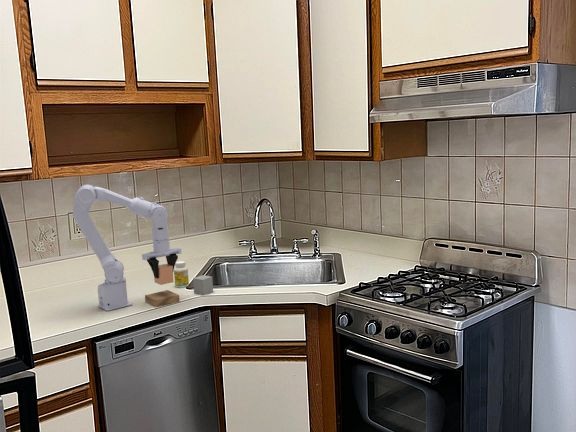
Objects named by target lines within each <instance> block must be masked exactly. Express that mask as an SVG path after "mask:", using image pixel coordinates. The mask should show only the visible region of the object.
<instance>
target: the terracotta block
mask: <svg viewBox="0 0 576 432" xmlns="http://www.w3.org/2000/svg"><path fill="white" fill-rule="evenodd" d="M158 272H159V278H154V279H153V281H154V283H156V284H157V285H160V286H162V285H163V286H164V285H167V284H171V283H175V280H174V270H173V266H171V265H168V264H167V263H164V264H159V265H158Z"/></svg>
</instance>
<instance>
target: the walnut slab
mask: <svg viewBox="0 0 576 432" xmlns="http://www.w3.org/2000/svg"><path fill="white" fill-rule="evenodd" d="M144 300H145V303H146V302H147V303H146V304H148V305H150V306H153V307H155V308H159V307H164V306H167V305H168V306H169V305H172V304H176V303H180V295H179V294H178V293H177V292H173V291H171V290H169V289H167V290H162V291H157V292H153V293H149V294H144Z"/></svg>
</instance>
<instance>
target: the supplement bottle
mask: <svg viewBox="0 0 576 432" xmlns="http://www.w3.org/2000/svg"><path fill="white" fill-rule="evenodd" d="M173 278H174V286H175V287H176V288H180V289H181V288H187V287H189V285H190V282H189V268H188V267H187V266H186V261H184V260H183V261H182V260H181V261H176V263H175V266H174V270H173Z"/></svg>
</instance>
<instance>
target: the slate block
mask: <svg viewBox="0 0 576 432" xmlns="http://www.w3.org/2000/svg"><path fill="white" fill-rule="evenodd" d="M192 280H193V283H192V284H193V294H195V295H200V296H206V295H210V294H211V293H214V285H213V276H209V275H204V274H202V275H198V276H196V277H193V278H192Z"/></svg>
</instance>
